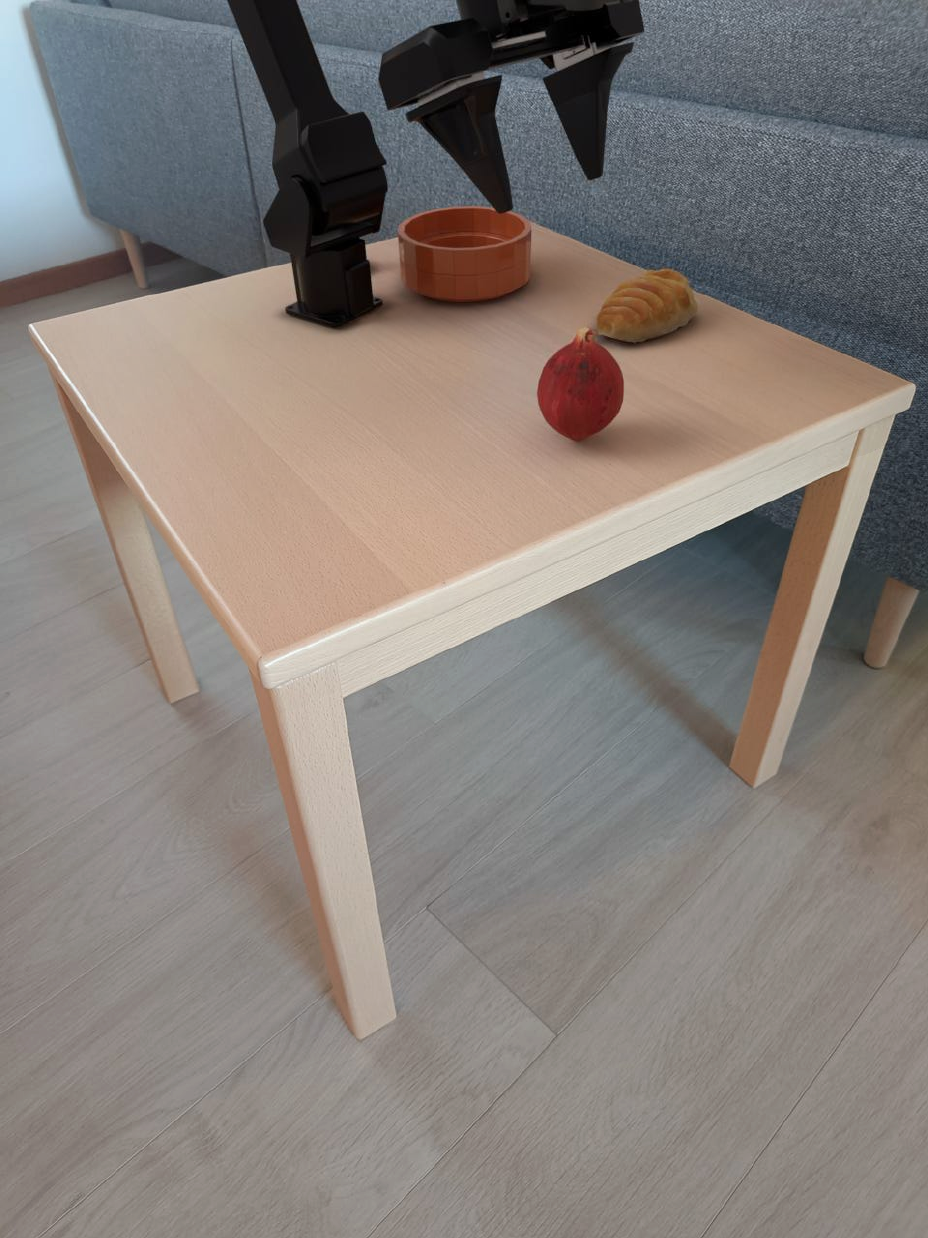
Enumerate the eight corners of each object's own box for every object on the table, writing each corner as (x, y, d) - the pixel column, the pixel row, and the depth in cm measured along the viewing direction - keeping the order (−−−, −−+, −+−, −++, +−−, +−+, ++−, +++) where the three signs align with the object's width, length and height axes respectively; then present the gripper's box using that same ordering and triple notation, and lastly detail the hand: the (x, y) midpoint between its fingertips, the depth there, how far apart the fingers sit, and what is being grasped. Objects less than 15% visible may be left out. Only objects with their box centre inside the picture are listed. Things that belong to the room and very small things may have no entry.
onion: (615, 465, 60) (627, 352, 54) (530, 458, 61) (533, 346, 55) (621, 423, 64) (633, 314, 59) (542, 416, 65) (545, 309, 60)
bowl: (375, 288, 84) (370, 234, 81) (452, 250, 92) (450, 198, 88) (481, 316, 79) (480, 259, 75) (554, 273, 86) (556, 219, 83)
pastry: (643, 356, 72) (647, 309, 69) (574, 335, 75) (576, 290, 73) (701, 318, 77) (707, 273, 75) (634, 300, 81) (638, 257, 78)
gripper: (464, -157, 41) (552, 201, 47) (689, -166, 51) (737, 131, 57) (331, -52, 49) (421, 241, 56) (547, -78, 59) (602, 174, 65)
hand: (552, 194), depth 58 cm, fingers open, 9 cm apart
